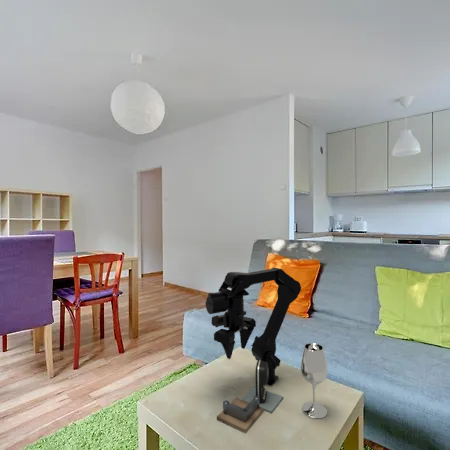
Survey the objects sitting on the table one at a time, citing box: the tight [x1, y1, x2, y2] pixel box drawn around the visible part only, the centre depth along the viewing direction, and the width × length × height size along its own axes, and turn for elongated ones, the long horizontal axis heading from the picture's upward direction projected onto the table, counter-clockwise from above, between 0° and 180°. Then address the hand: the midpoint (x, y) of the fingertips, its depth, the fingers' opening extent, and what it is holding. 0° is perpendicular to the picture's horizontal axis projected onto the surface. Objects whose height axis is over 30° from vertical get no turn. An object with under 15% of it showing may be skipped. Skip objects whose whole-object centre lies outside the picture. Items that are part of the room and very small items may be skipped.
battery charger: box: [255, 360, 269, 403], centre depth 97 cm, size 7×4×11 cm, turn 167°
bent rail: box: [222, 396, 260, 423], centre depth 90 cm, size 9×8×3 cm
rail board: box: [216, 397, 265, 434], centre depth 89 cm, size 11×10×1 cm
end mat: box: [240, 385, 284, 414], centre depth 97 cm, size 9×11×1 cm
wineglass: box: [300, 342, 328, 419], centre depth 91 cm, size 8×8×20 cm
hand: (236, 353), depth 102 cm, fingers open, 9 cm apart
